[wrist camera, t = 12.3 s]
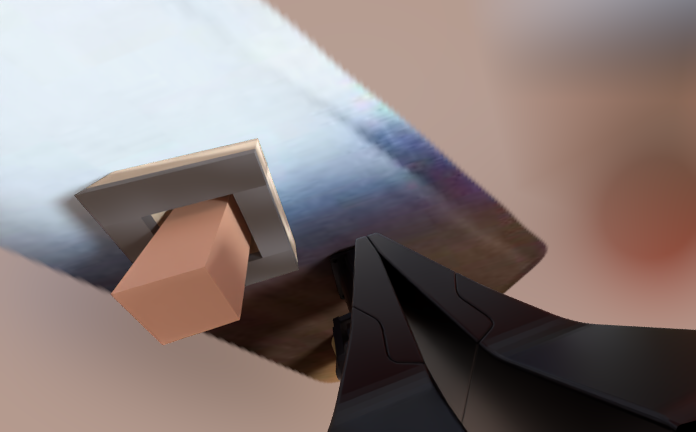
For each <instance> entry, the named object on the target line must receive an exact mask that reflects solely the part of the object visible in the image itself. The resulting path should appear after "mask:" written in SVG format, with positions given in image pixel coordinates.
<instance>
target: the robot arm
mask: <svg viewBox="0 0 696 432" xmlns="http://www.w3.org/2000/svg"><path fill="white" fill-rule="evenodd" d="M334 259H336V260H334ZM330 263H331V266H332V270H333V274H334V277H335V281H336V284H337V288H338V292H339V295H340V298H341V299H345V300H346V303H347V306H348V309H349V312H350V313H348V314H346V315H343V316H341V317H339V316H338V317H336V318H334V319H333V323H334V327H333V336H334V342H335V350H336V375H337V378H338V379H339V380H340V381H341V382H340V387H339V392H338V396H337V401H336V405H335V409H334V413H333V417H332V420H331V423H330V426H329V429H328V432H696V330H688V329H670V328H653V327H636V326H617V325H600V324H589V323H582V322H577V321H573V320H569V319H565V318H562V317H560V316H556V315H554V314H551V313H549V312H546V311H544V310H542V309H539V308H537V307H534V306H532V305H529V304H527V303H524V302H522V301H519V300H517V299H514V298H512V297H509V296H507V295H504V294H502V293H500V292H497V291H495V290H493V289H490V288H488V287H486V286H483V285H481V284H479V283H477V282H475V281H473V280H471V279H469V278H467V277H465V276H463V275H461V274H459V273H456V274H455V272H454V271H452V270H450V269H448V268H446V267H444V266H442V265H441V264H439V263H437V262H435V261H433V260H431V259H429V258H427V257H425V256H423V255H421V254H419V253H417V252H415V251H413V250H411V249H409V248H407V247H405V246H403V245H401V244H399V243H397V242H395V241H393V240H391V239H389V238H387V237H385V236H383V235H381V234H379V233H374V234H371V235H368V236H367V237H366V236H364V237H361V238H357V239H356V241H355V248H354V249H351V250H348V251H345V252H341V253H338V254H335V255H332V256H331V257H330Z"/></svg>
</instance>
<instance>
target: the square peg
mask: <svg viewBox="0 0 696 432" xmlns="http://www.w3.org/2000/svg"><path fill="white" fill-rule="evenodd" d="M251 235H252V234H251V232H250V230H249V228H248V225H247V223H246V221H245V219H244V217H243V215H242V213H241V210H240V208H239V206H238V204H237V202H236V200H235V198H234V196H233V194H230V195H226V196H222V197H218V198H214V199H210V200H206V201H203V202H199V203H195V204H191V205H187V206H183V207H179V208H175V209H173V210H172V212H171V213H170V215H169V216H168V217H167V219H166V220H165V221H164V223H163V224H162V225H161V227H160V228H159V229H158V231H157V232H156V234H155V235H154V236H153V238H152V239H151V240H150V242H149V243H148V244H147V246H146V247H145V248H144V250H143V251H142V253H141V254H140V255H139V257H138V258H137V259H136V261H135V262H134V263H133V265H132V266H131V267H130V269H129V270H128V272H127V273H126V274H125V276H124V277H123V278H122V280H121V281H120V282H119V284H118V285H117V286H116V288H115V289H114V291H113V292H112V293H111V295H112V296H113V297H114V298H115V299H116V300H117V301H118V302H119V303H120V304H121V305H122V306H123V307H124V308H125V309H126V310H127V311H128V312H129V313H130V314H131V315H132V316H133V317H135V319H136V320H137V321H138V322H139V323H141V325H142V326H143V327H144V328H146V329H147V330H148V331H149V332H150V333H151V334H152V335H153V336H154V337H155V338H156V339H157V340H158V341H159V342H160V343H161V344H162V345H165V344H168V343H171V342H174V341H177V340H180V339H183V338H186V337H189V336H192V335H195V334H198V333H201V332H205V331H208V330H211V329H214V328H217V327H220V326H223V325H226V324H229V323H232V322H235V321H238V320H240V316H241V309H242V302H243V294H244V287H245V279H246V272H247V264H248V257H249V249H250V242H251Z"/></svg>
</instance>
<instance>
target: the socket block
mask: <svg viewBox="0 0 696 432" xmlns="http://www.w3.org/2000/svg"><path fill="white" fill-rule="evenodd" d="M230 194H233V196H234V198H235V200H236V202H237V204H238V206H239V208H240V210H241V213H242V215H243V217H244V219H245V221H246V223H247V225H248V228H249V230H250V232H251V234H252V235H251V242H250V249H249V257H248V264H247V272H246V279H245V286H248V285H251V284H254V283H258V282H261V281H264V280H267V279H271V278H274V277H277V276H280V275H284V274H287V273H290V272H293V271H297V270H299V269H298V262H297V254H296V246H295V241H294V238H293V235H292V232H291V230H290V227H289V224H288V221H287V219H286V216H285V213H284V210H283V207H282V205H281V202H280V199H279V196H278V193H277V191H276V188H275V185H274V182H273V179H272V177H271V174H270V171H269V168H268V166H267V163H266V160H265V157H264V154H263V152H262V149H261V146H260V143H259V140H258V138H257V139H253V140H249V141H244V142H240V143H235V144H231V145H227V146H222V147H218V148H214V149H209V150H205V151H201V152H196V153H192V154H188V155H183V156H179V157H175V158H170V159H166V160H162V161H157V162H153V163H149V164H144V165H140V166H136V167H131V168H127V169H123V170H118V171H114V172H112V173H110V174H109V175H107V176H105V177H104V178H102V179H100V180H99V181H97V182H96V183H94V184H92V185H91V186H89V187H87V188H86V189H84V190H82V191H81V192H79V193H78V194H76V195H74V196H75V197H76V198H77V199H78V200H79V202H80V203H81V204H82V205H83V206H84V207H85V208H86V210H87V211H88V212H89V213H90V214H91V215H92V217H93V218H94V219H95V220H96V221H97V222H98V224H99V225H100V226H101V227H102V228H103V229H104V231H105V232H106V233H107V234H108V235H109V236H110V238H111V239H112V240H113V241H114V242H115V243H116V245H117V246H118V247H119V248H120V249H121V250H122V252H123V253H124V254H125V255H126V256H127V257H128V259H129V260H130V261H131V262H132V263H134V262H135V261H136V259H137V258H138V257H139V255H140V254H141V253H142V251H143V250H144V248H145V247H146V246H147V244H148V243H149V242H150V240H151V239H152V238H153V236H154V235H155V234H156V232H157V231H158V229H159V228H160V227H161V225H162V224H163V223H164V221H165V220H166V219H167V217H168V216H169V215H170V213H171V212H172V210H173V209H175V208H179V207H183V206H187V205H191V204H195V203H199V202H203V201H206V200H210V199H214V198H218V197H222V196H226V195H230Z"/></svg>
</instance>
